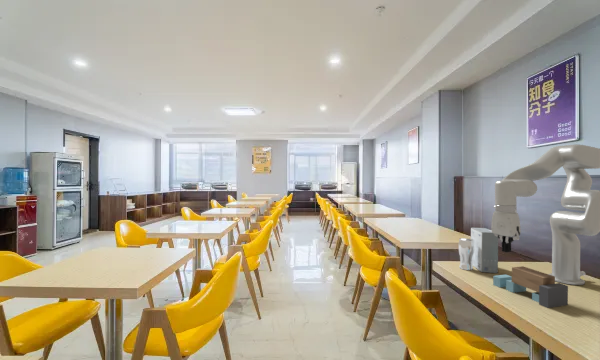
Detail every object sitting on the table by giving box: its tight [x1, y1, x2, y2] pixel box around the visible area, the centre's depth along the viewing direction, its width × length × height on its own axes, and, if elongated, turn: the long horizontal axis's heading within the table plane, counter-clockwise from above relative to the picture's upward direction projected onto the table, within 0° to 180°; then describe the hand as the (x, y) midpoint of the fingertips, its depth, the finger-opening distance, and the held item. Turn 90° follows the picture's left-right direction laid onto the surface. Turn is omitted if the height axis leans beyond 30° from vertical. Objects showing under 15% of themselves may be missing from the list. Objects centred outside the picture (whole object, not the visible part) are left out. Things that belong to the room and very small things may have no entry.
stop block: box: [538, 282, 569, 309], centre depth 108 cm, size 10×3×7 cm, turn 106°
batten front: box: [505, 280, 527, 294], centre depth 122 cm, size 7×3×4 cm, turn 106°
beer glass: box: [458, 237, 474, 271], centre depth 151 cm, size 7×7×15 cm
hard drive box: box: [470, 227, 499, 274], centre depth 152 cm, size 16×8×20 cm, turn 168°
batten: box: [531, 291, 539, 303], centre depth 112 cm, size 7×3×4 cm
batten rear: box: [492, 274, 512, 288], centre depth 128 cm, size 7×3×4 cm, turn 106°
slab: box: [511, 265, 556, 292], centre depth 116 cm, size 6×12×6 cm, turn 16°
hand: (506, 251), depth 127 cm, fingers closed
